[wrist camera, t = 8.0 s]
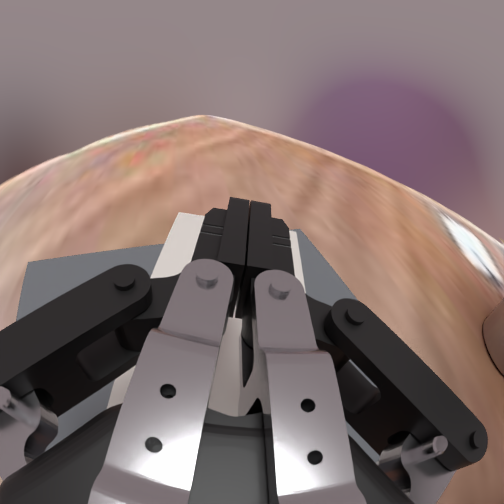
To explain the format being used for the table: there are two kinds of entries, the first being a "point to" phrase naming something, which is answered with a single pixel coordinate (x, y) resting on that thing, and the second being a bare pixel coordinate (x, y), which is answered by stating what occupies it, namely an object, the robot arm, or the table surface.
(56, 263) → the mat
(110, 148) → the table surface
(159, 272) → the tile
